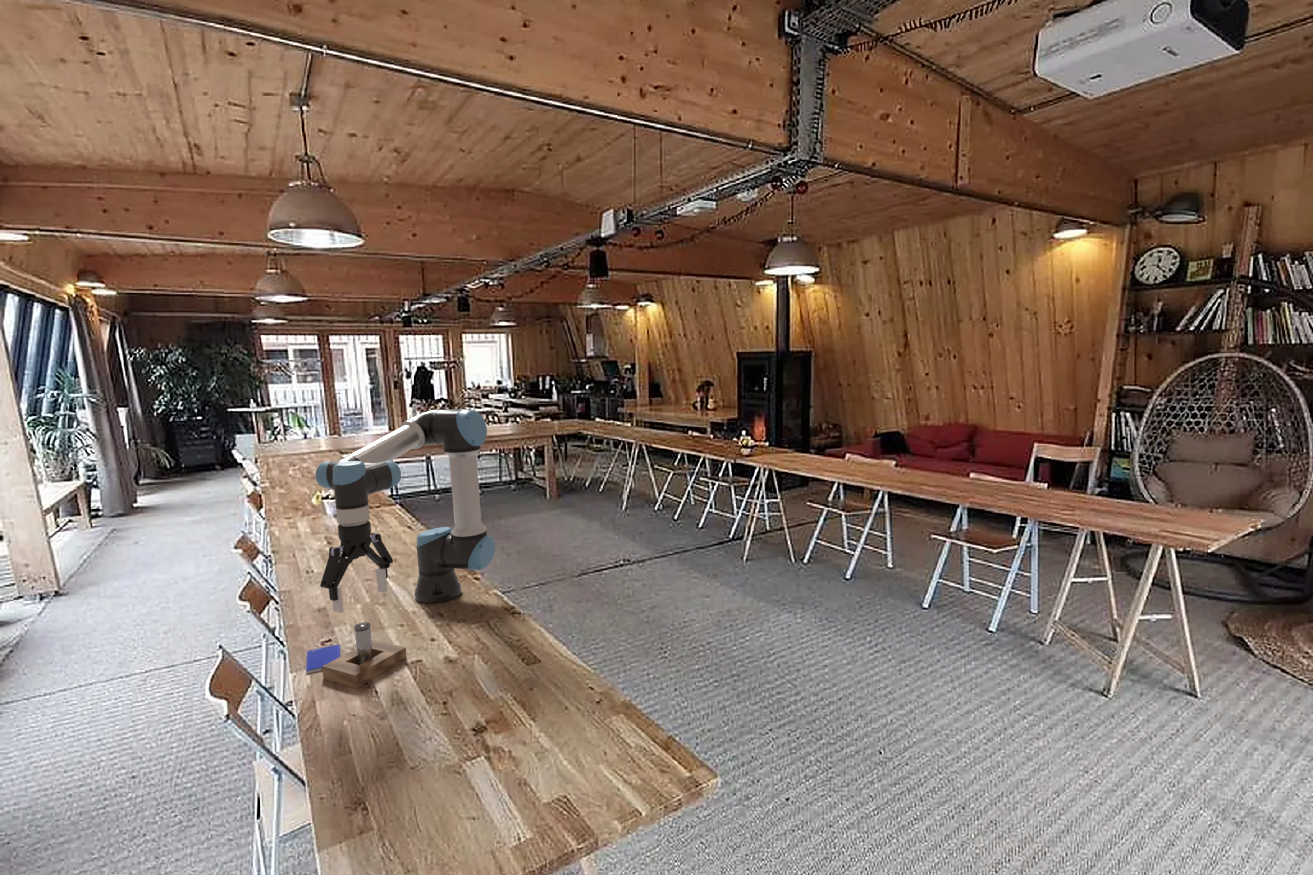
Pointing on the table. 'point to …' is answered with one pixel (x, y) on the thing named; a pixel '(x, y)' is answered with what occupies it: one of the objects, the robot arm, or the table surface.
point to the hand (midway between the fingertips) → (361, 601)
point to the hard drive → (321, 657)
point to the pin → (363, 642)
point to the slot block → (364, 665)
